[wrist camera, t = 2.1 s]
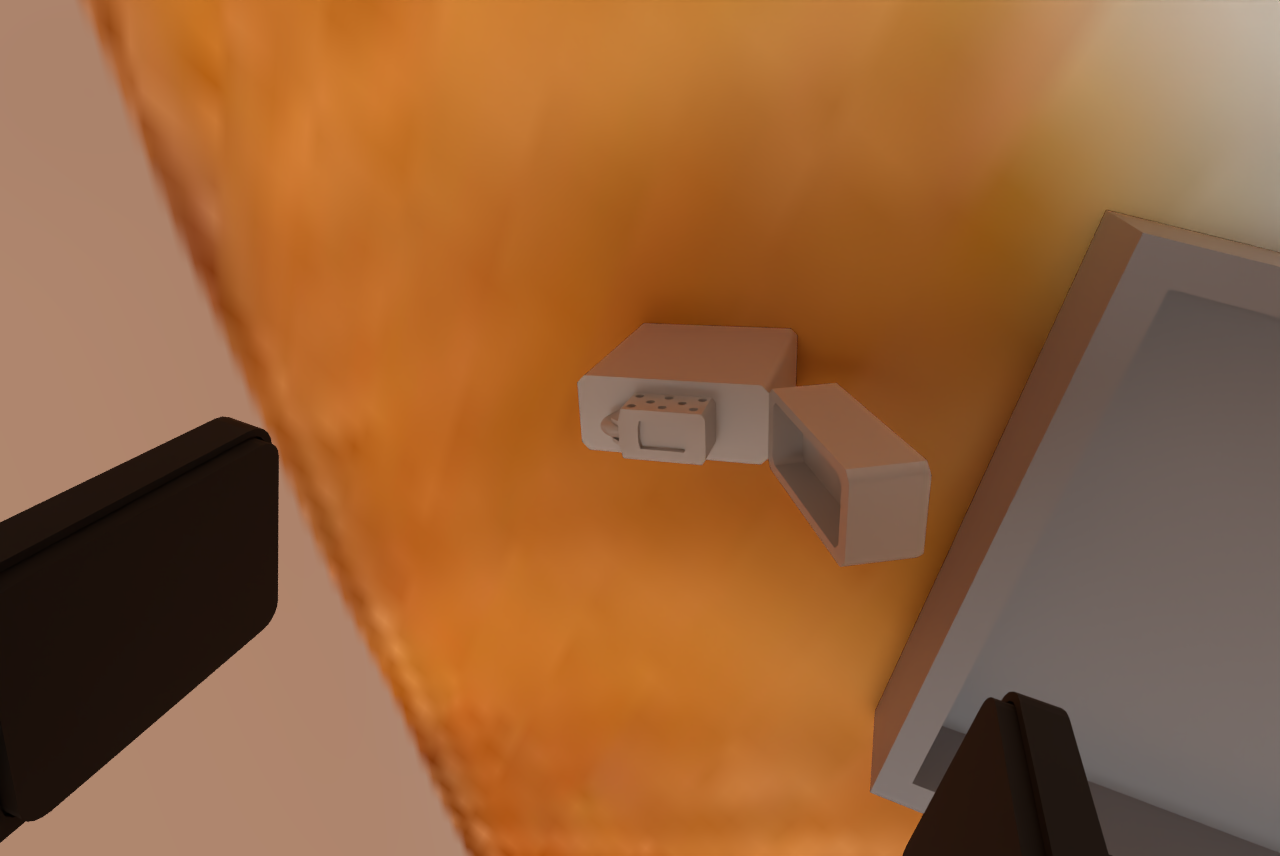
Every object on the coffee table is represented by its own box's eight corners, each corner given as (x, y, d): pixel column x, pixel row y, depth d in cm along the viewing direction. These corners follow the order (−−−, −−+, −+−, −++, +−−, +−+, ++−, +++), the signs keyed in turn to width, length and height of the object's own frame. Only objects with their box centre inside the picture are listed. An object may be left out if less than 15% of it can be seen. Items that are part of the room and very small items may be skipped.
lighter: (640, 385, 21) (507, 530, 14) (637, 322, 21) (496, 443, 14) (919, 402, 19) (922, 582, 12) (925, 333, 19) (933, 482, 12)
